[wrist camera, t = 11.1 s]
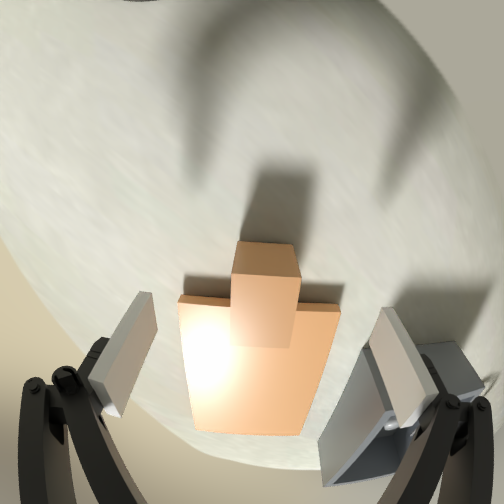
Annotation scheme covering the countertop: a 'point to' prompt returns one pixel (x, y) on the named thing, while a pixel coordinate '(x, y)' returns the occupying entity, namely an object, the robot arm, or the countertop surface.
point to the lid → (256, 346)
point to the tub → (382, 417)
